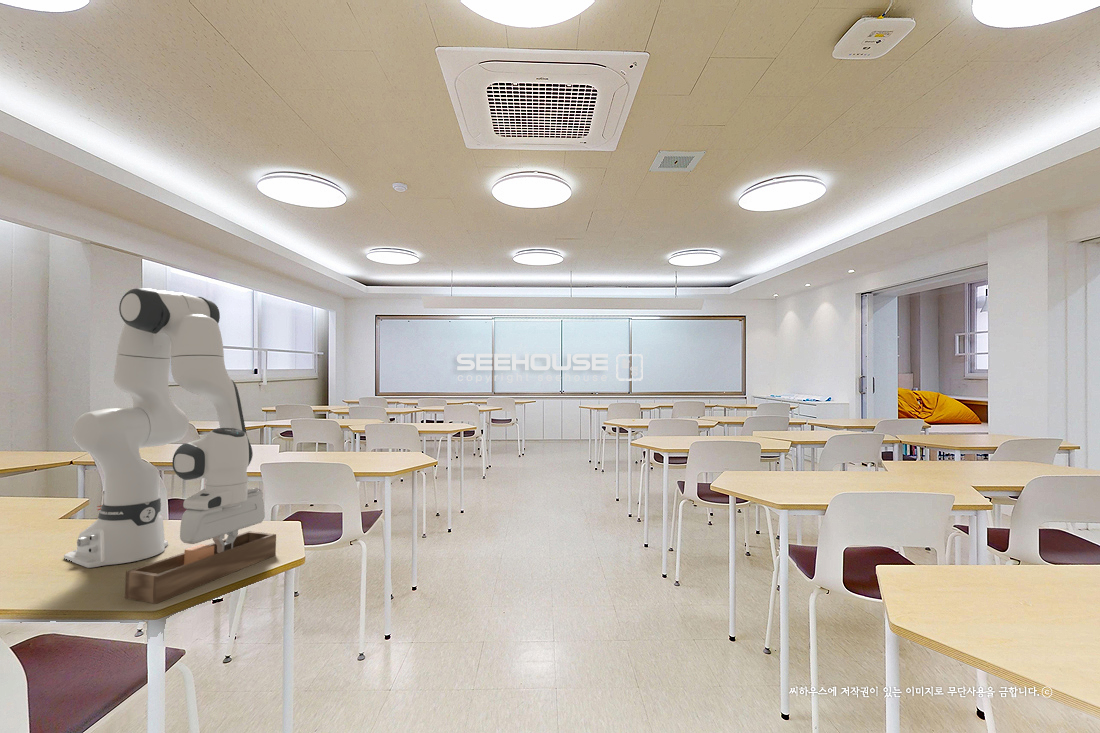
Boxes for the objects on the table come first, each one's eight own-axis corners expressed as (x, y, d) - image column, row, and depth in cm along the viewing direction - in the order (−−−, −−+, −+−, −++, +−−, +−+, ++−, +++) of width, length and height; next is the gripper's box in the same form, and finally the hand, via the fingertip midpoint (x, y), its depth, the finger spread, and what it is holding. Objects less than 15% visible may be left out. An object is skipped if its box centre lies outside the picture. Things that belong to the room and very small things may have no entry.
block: (184, 567, 112) (184, 549, 112) (200, 561, 116) (201, 544, 116) (197, 569, 111) (197, 551, 111) (213, 563, 115) (214, 545, 115)
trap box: (124, 598, 103) (125, 571, 103) (248, 551, 131) (249, 531, 132) (156, 603, 100) (157, 576, 100) (275, 555, 129) (276, 534, 129)
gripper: (252, 485, 131) (251, 537, 131) (176, 502, 112) (173, 564, 111) (271, 486, 130) (270, 539, 129) (197, 504, 110) (194, 567, 109)
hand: (224, 551), depth 120 cm, fingers closed
